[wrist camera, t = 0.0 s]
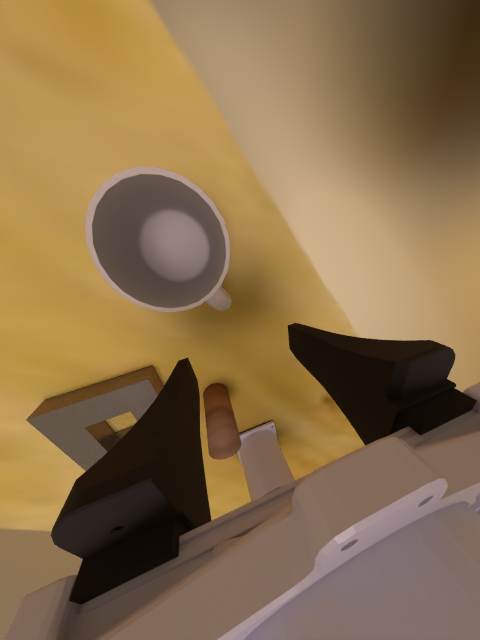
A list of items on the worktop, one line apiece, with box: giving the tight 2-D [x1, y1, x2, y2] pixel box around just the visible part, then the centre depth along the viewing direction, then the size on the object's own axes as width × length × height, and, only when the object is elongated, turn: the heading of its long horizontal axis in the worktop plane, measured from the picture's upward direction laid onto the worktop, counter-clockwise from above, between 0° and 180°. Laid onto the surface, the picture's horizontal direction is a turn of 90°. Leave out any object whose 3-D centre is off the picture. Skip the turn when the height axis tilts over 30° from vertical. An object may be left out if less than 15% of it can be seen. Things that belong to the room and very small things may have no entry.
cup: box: [85, 167, 232, 312], centre depth 14 cm, size 7×10×9 cm
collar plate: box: [26, 366, 164, 471], centre depth 22 cm, size 12×12×2 cm
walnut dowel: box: [203, 383, 241, 459], centre depth 22 cm, size 4×4×8 cm
